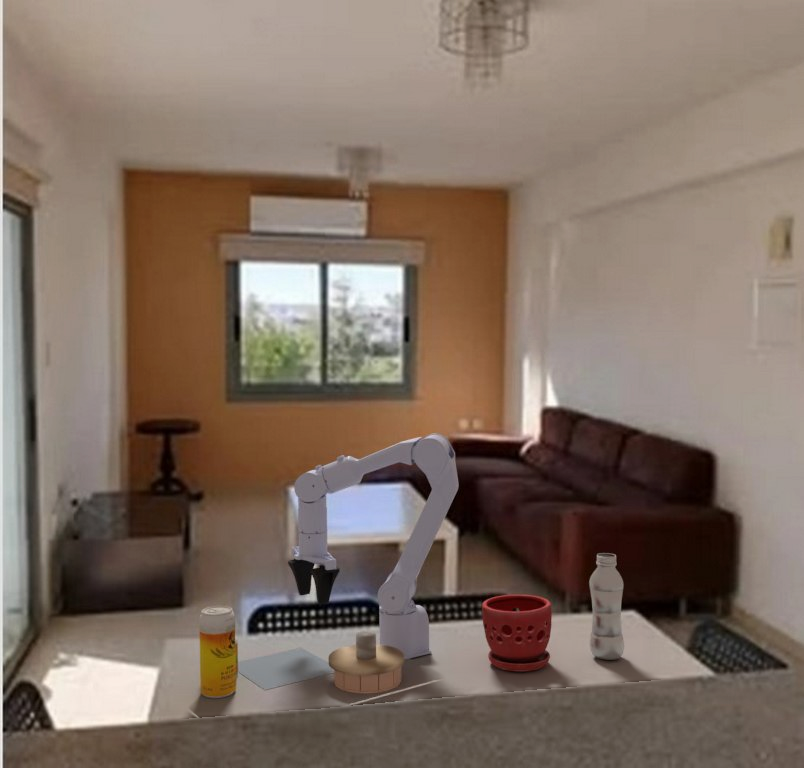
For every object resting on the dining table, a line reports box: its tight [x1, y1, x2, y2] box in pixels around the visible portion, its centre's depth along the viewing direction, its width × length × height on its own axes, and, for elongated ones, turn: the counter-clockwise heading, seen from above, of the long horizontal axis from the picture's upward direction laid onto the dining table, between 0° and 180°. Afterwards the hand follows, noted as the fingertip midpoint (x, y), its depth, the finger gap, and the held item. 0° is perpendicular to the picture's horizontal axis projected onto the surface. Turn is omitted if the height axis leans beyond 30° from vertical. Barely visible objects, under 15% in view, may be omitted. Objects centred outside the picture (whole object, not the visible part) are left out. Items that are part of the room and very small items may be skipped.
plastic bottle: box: [588, 552, 625, 661], centre depth 175 cm, size 6×7×20 cm
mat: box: [238, 647, 334, 691], centre depth 171 cm, size 16×16×1 cm
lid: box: [328, 630, 405, 675], centre depth 163 cm, size 14×14×5 cm
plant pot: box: [481, 594, 553, 672], centre depth 172 cm, size 13×13×12 cm
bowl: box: [333, 666, 402, 694], centre depth 164 cm, size 12×12×4 cm
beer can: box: [198, 605, 237, 699], centre depth 159 cm, size 6×6×15 cm
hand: (313, 598), depth 181 cm, fingers open, 7 cm apart
